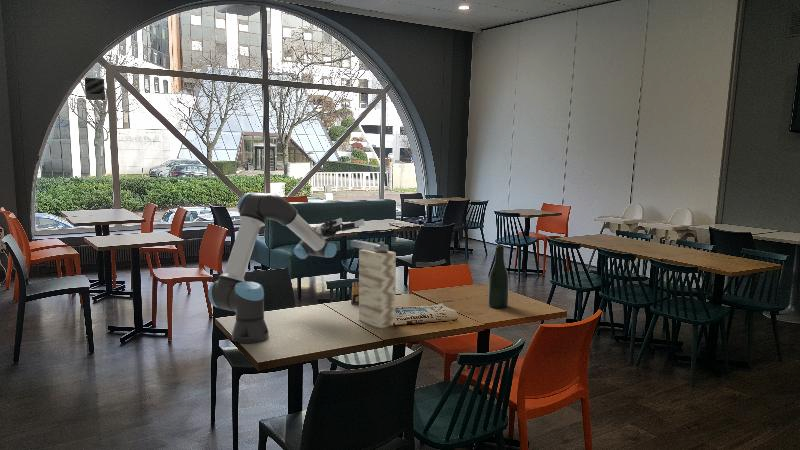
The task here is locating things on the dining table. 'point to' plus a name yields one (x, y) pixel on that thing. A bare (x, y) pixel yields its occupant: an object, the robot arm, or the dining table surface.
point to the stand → (377, 288)
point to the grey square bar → (370, 246)
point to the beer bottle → (498, 281)
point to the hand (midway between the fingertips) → (352, 221)
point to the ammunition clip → (355, 294)
